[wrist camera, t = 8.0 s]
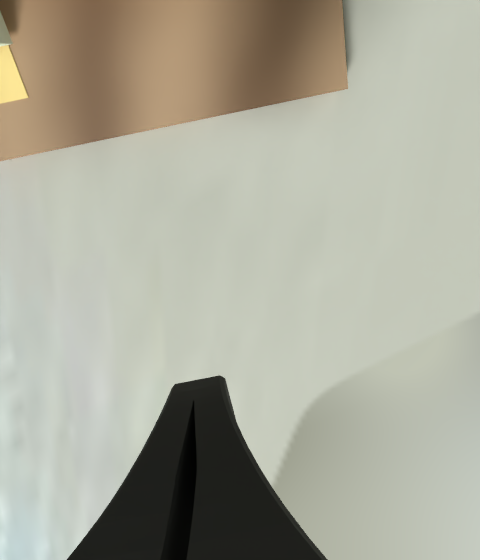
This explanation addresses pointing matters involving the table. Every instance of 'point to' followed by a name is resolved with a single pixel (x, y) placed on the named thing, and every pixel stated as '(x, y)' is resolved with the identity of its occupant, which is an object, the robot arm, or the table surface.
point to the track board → (156, 64)
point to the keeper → (4, 33)
